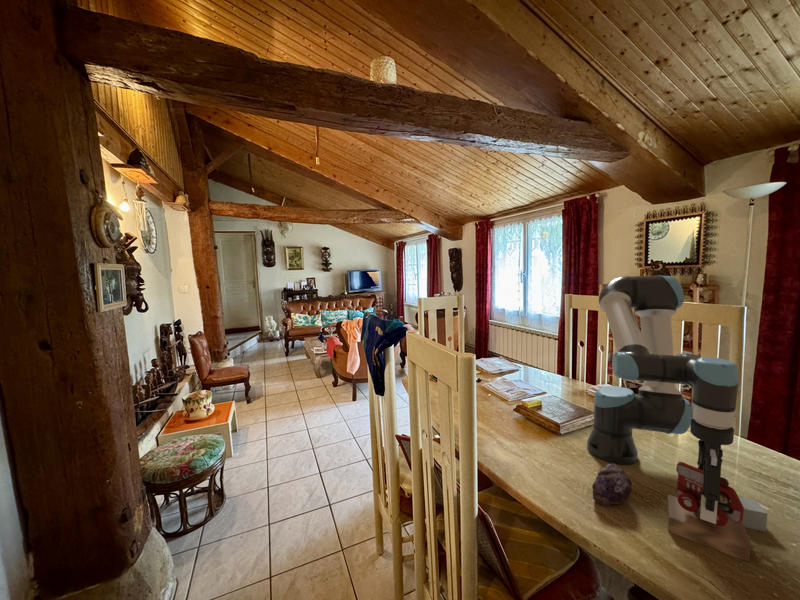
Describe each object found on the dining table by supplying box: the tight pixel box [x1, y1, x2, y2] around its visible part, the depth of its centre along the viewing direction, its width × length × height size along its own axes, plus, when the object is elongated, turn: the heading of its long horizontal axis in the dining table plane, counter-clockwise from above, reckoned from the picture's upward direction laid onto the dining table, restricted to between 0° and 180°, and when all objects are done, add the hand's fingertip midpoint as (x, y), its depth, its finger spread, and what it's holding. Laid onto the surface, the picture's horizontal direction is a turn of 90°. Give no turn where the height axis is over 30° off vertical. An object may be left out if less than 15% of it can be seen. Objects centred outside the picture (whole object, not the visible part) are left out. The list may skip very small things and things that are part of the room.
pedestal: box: [666, 494, 751, 563], centre depth 80 cm, size 14×10×4 cm
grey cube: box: [730, 496, 768, 533], centre depth 83 cm, size 5×5×5 cm
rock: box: [591, 463, 633, 507], centre depth 92 cm, size 12×9×10 cm
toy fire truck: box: [675, 461, 744, 526], centre depth 79 cm, size 7×12×10 cm, turn 31°
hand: (705, 508), depth 80 cm, fingers closed on toy fire truck, 8 cm apart
